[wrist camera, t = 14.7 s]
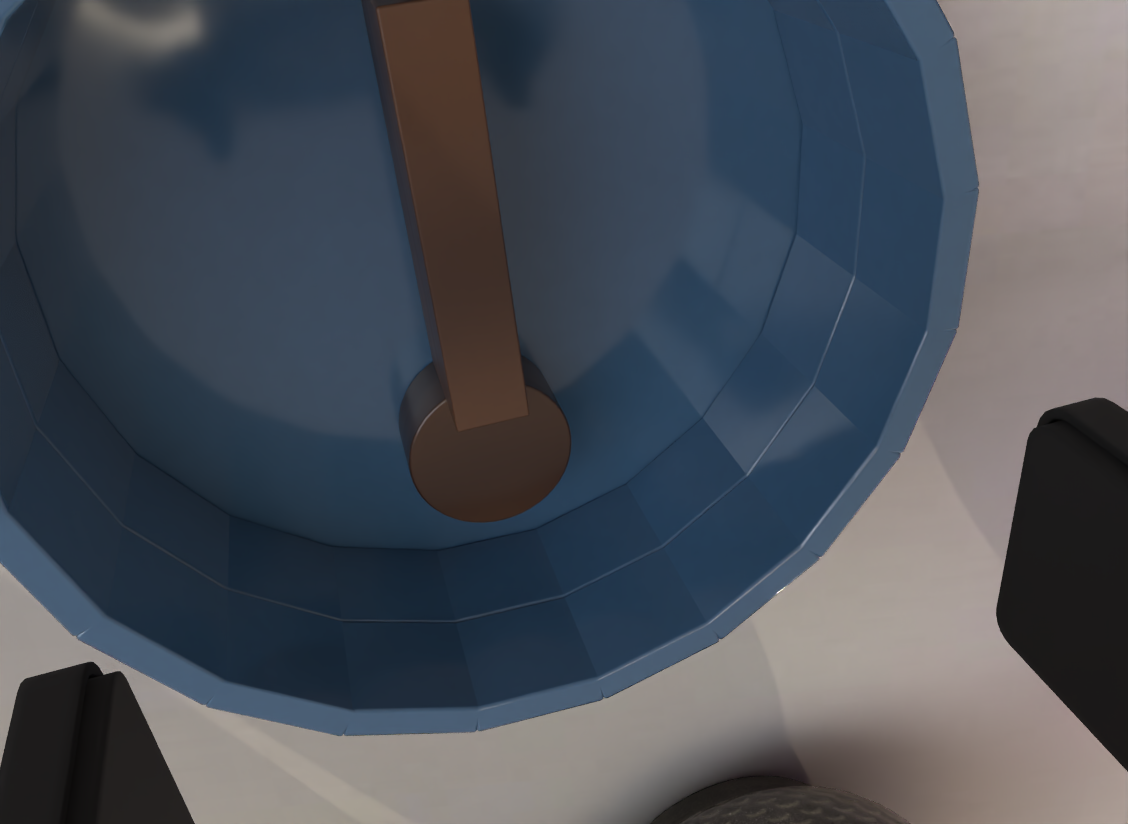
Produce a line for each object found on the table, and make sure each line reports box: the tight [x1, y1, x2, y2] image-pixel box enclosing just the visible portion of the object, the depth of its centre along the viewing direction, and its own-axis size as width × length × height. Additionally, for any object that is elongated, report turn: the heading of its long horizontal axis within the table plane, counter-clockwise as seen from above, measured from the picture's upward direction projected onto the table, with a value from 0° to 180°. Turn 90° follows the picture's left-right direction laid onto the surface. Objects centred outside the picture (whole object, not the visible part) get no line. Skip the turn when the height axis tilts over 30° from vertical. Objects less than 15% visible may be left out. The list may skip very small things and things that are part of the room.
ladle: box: [361, 0, 572, 523], centre depth 20 cm, size 11×4×3 cm, turn 6°
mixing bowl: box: [0, 0, 979, 736], centre depth 19 cm, size 17×17×6 cm
